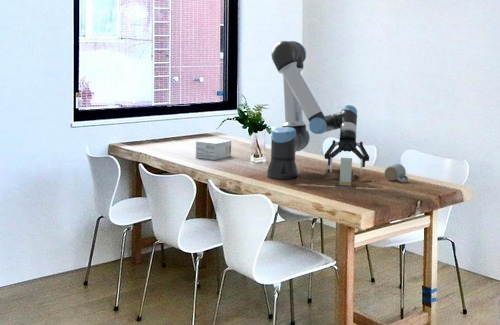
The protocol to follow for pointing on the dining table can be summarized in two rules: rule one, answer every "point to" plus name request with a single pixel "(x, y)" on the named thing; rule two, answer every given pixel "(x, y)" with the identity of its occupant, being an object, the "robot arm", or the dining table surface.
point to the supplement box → (213, 149)
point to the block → (345, 171)
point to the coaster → (344, 186)
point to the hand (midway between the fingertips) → (345, 171)
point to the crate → (336, 174)
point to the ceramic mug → (396, 173)
